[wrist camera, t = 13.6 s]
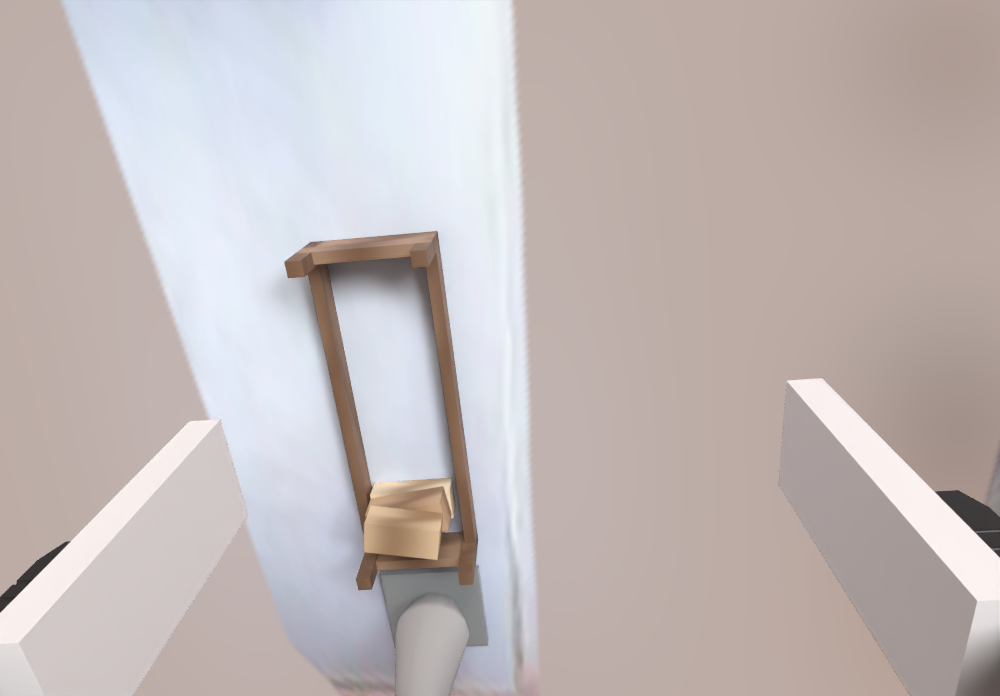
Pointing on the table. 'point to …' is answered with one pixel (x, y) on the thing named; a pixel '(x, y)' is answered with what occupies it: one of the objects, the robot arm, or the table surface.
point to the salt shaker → (429, 646)
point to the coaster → (443, 580)
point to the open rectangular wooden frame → (314, 263)
